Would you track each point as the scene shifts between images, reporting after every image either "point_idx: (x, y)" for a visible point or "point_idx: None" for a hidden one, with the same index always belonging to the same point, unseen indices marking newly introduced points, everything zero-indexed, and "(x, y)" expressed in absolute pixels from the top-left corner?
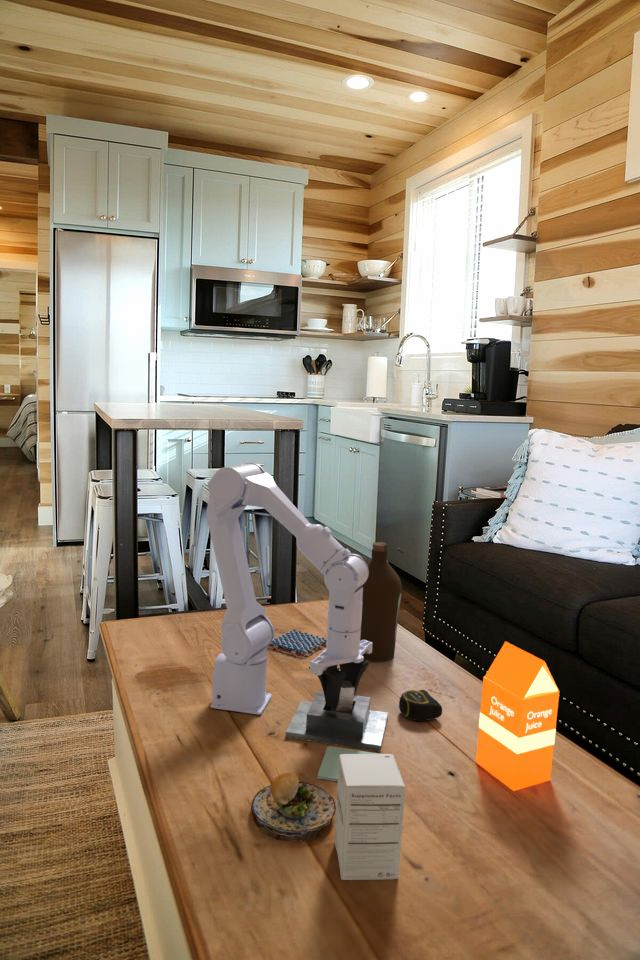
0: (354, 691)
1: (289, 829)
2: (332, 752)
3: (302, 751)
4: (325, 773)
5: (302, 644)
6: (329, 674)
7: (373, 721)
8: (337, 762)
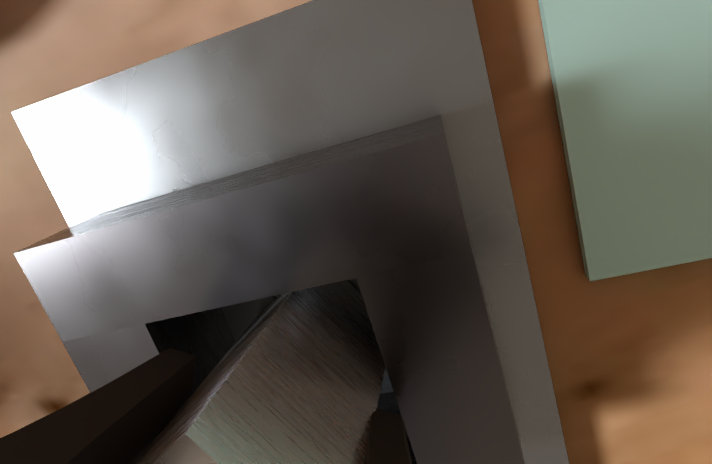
0: (138, 391)
1: None
2: (657, 228)
3: (680, 378)
4: None
5: None
6: None
7: (176, 147)
8: None
